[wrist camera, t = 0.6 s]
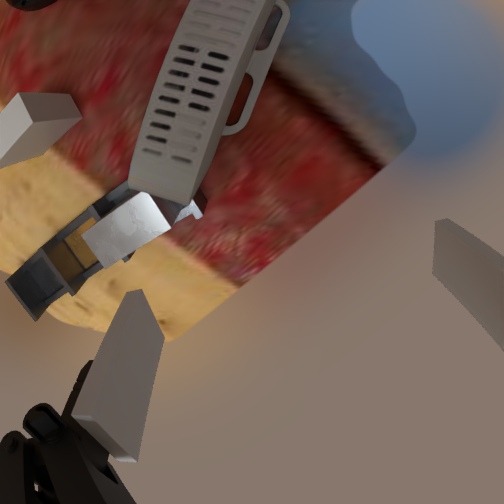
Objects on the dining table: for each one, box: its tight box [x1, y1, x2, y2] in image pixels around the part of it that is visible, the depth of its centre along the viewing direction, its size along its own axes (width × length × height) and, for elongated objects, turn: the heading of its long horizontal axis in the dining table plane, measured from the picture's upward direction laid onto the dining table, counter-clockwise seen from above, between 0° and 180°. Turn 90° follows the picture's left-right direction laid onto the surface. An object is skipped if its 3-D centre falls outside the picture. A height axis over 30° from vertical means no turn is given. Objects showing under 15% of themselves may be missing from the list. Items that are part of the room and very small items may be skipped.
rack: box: [5, 179, 208, 321], centre depth 32 cm, size 8×31×12 cm, turn 119°
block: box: [0, 92, 83, 169], centre depth 26 cm, size 4×8×11 cm, turn 119°
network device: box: [128, 0, 290, 206], centre depth 21 cm, size 26×9×20 cm, turn 160°
